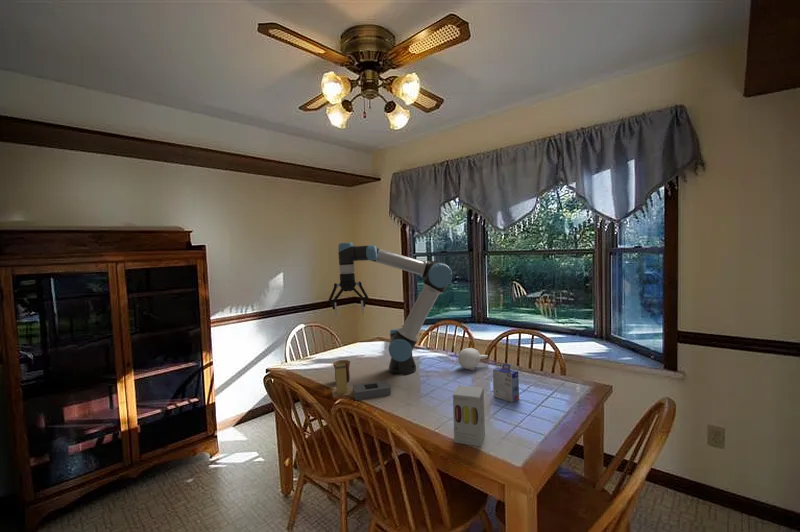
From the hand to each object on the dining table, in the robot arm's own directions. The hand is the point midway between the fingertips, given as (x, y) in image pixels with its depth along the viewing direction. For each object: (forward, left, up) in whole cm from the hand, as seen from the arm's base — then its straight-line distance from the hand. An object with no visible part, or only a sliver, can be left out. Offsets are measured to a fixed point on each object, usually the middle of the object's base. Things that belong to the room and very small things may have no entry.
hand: (349, 314), depth 185 cm
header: (-6, +21, -35) cm, 41 cm away
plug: (+7, +14, -34) cm, 38 cm away
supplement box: (-32, +71, -35) cm, 85 cm away
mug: (+6, +1, -35) cm, 35 cm away
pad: (+7, +14, -35) cm, 38 cm away
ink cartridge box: (-61, +46, -35) cm, 84 cm away
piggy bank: (-65, +5, -35) cm, 74 cm away
